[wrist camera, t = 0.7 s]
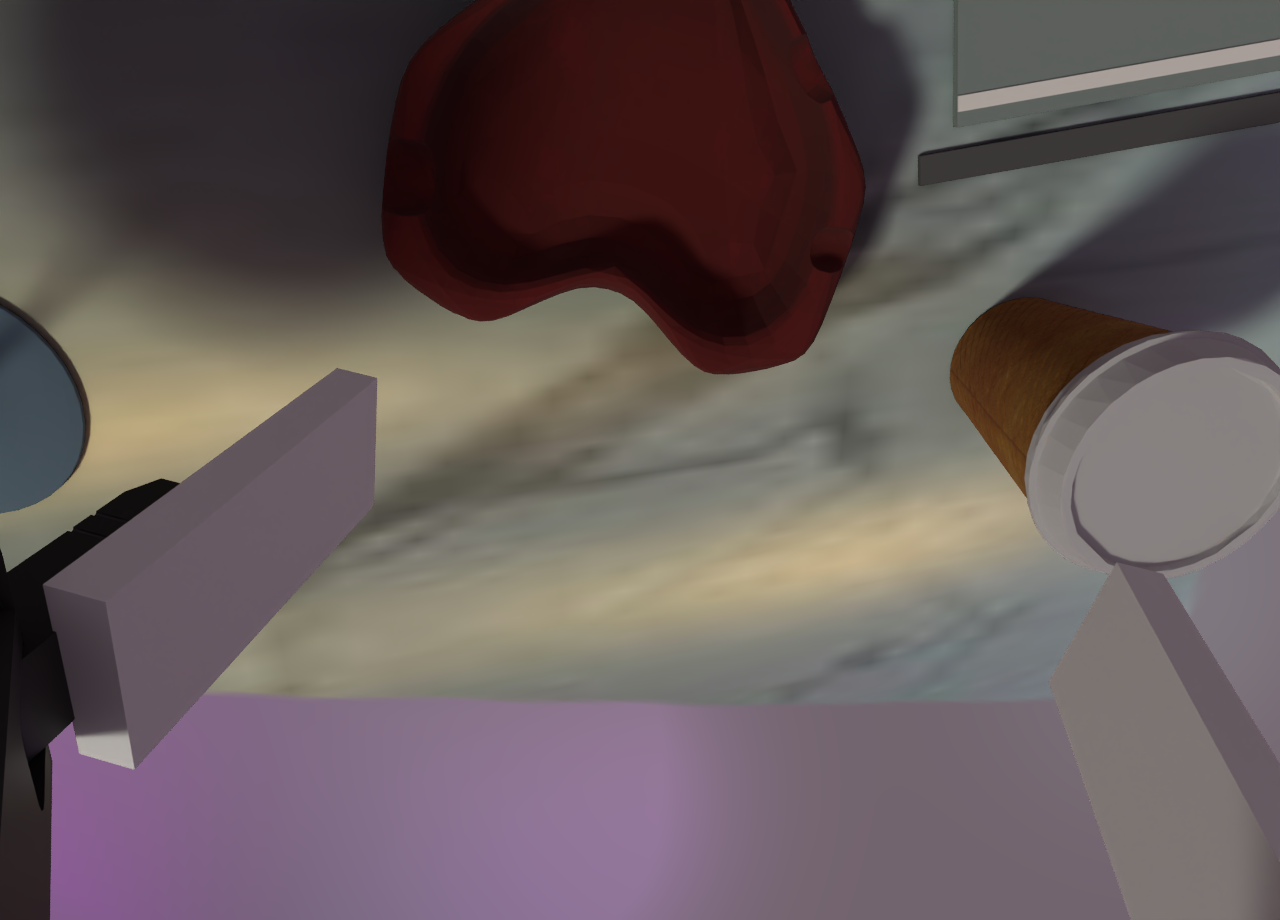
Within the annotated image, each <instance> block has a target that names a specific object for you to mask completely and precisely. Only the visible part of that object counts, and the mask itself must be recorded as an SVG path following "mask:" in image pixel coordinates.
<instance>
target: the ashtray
mask: <svg viewBox="0 0 1280 920" xmlns="http://www.w3.org/2000/svg"><path fill="white" fill-rule="evenodd" d="M864 195H865V178H864V170H863V167H862V163H861V160H860V157H859V154H858V151H857V148H856V146H855V143H854V141H853V138H852V136H851V134H850V131H849V129H848V126H847V123H846V121H845V118H844V116H843V114H842V112H841V109H840V107H839V105H838V102H837V100H836V98H835V95H834V93H833V91H832V89H831V87H830V85H829V84H828V82H827V80H826V78H825V76H824V75H823V73H822V71H821V69H820V67H819V65H818V62H817V60H816V58H815V56H814V54H813V51H812V49H811V46H810V43H809V40H808V37H807V34H806V32H805V30H804V28H803V26H802V24H801V22H800V20H799V18H798V16H797V14H796V12H795V10H794V8H793V6H792V3H791V1H790V0H476V1H474V2H473V3H472V4H470V5H469V6H468V7H466V8H465V9H464V10H462V11H461V12H460V13H458V14H457V15H456V16H455V17H453V18H452V19H451V20H450V21H448V22H447V23H446V24H445V25H443V26H442V27H441V28H440V29H438V30H437V31H436V32H435V33H434V34H433V35H432V36H431V37H430V38H429V39H428V40H427V41H426V42H425V43H424V44H423V45H422V46H421V47H420V49H419V50H418V52H417V53H416V54H415V56H414V57H413V58H412V60H411V61H410V63H409V65H408V67H407V69H406V72H405V74H404V76H403V78H402V81H401V84H400V88H399V92H398V96H397V99H396V104H395V109H394V115H393V120H392V125H391V130H390V137H389V143H388V150H387V157H386V167H385V177H384V188H383V202H382V231H383V242H384V247H385V251H386V256H387V258H388V259H389V261H390V263H391V264H392V266H393V268H394V269H396V270H397V271H398V272H399V274H400V275H401V276H402V277H403V278H404V279H405V280H406V281H407V282H408V283H410V284H411V285H412V286H413V287H415V288H416V289H417V290H419V291H420V292H421V293H423V294H424V295H426V296H427V297H429V298H430V299H432V300H433V301H435V302H436V303H437V304H439V305H440V306H442V307H444V308H446V309H448V310H449V311H451V312H453V313H456V314H459V315H461V316H463V317H465V318H467V319H471V320H476V321H492V320H496V319H500V318H503V317H507V316H509V315H512V314H514V313H516V312H518V311H521V310H523V309H525V308H527V307H530V306H532V305H534V304H536V303H539V302H541V301H543V300H546V299H548V298H551V297H553V296H555V295H558V294H560V293H564V292H567V291H570V290H574V289H577V288H588V287H597V288H604V289H609V290H612V291H615V292H618V293H621V294H623V295H624V296H626V297H628V298H629V299H631V300H633V301H634V302H635V303H636V304H637V305H638V306H639V307H641V308H642V309H643V310H644V311H645V312H646V313H647V314H648V315H649V317H650V318H651V319H652V320H653V321H654V322H655V323H656V325H657V326H658V327H659V328H660V329H661V331H662V332H663V333H664V334H665V335H666V337H667V338H668V339H669V340H670V341H671V343H672V344H673V345H674V346H675V347H676V348H677V349H678V351H679V352H680V353H681V354H682V355H683V356H684V357H685V358H686V359H687V360H689V361H690V362H691V363H692V364H693V365H694V366H696V367H697V368H699V369H701V370H702V371H704V372H707V373H712V374H739V373H746V372H752V371H757V370H763V369H768V368H771V367H775V366H779V365H782V364H785V363H788V362H791V361H794V360H796V359H797V358H799V357H800V356H802V355H803V354H805V352H806V351H807V350H808V348H809V347H810V346H811V344H812V343H813V342H814V340H815V338H816V336H817V334H818V332H819V329H820V327H821V325H822V323H823V320H824V318H825V315H826V313H827V310H828V308H829V305H830V303H831V300H832V298H833V295H834V292H835V289H836V287H837V284H838V281H839V279H840V276H841V273H842V270H843V267H844V264H845V262H846V259H847V256H848V253H849V250H850V247H851V244H852V241H853V237H854V234H855V231H856V228H857V224H858V221H859V217H860V214H861V210H862V207H863V203H864Z"/></svg>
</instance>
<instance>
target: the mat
mask: <svg viewBox="0 0 1280 920" xmlns="http://www.w3.org/2000/svg"><path fill="white" fill-rule="evenodd" d="M1274 71H1280V0H954V94H953V127H963V126H969V125H974V124H980V123H986V122H991V121H997V120H1003V119H1008V118H1014V117H1020V116H1025V115H1031V114H1037V113H1042V112H1048V111H1053V110H1059V109H1065V108H1070V107H1076V106H1082V105H1087V104H1093V103H1099V102H1104V101H1110V100H1116V99H1121V98H1127V97H1133V96H1138V95H1144V94H1150V93H1155V92H1161V91H1167V90H1172V89H1178V88H1183V87H1189V86H1195V85H1200V84H1206V83H1212V82H1217V81H1223V80H1229V79H1234V78H1240V77H1246V76H1251V75H1257V74H1263V73H1268V72H1274Z"/></svg>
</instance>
